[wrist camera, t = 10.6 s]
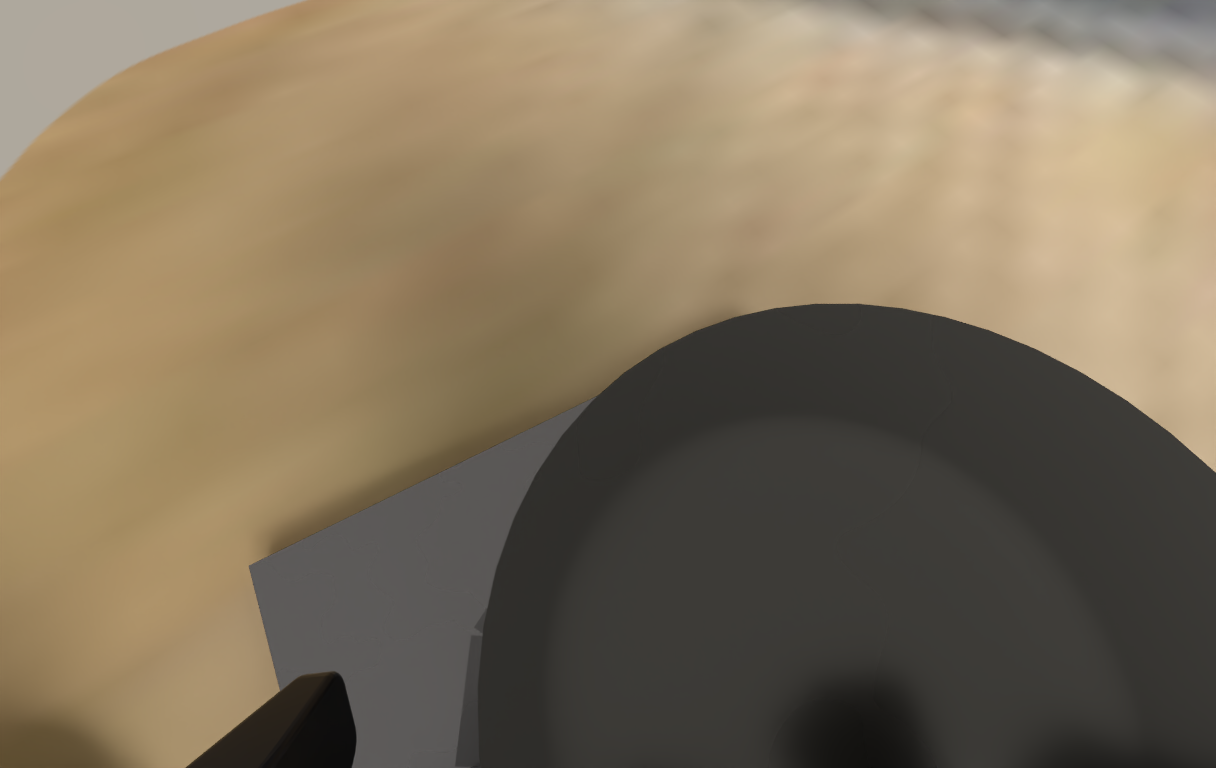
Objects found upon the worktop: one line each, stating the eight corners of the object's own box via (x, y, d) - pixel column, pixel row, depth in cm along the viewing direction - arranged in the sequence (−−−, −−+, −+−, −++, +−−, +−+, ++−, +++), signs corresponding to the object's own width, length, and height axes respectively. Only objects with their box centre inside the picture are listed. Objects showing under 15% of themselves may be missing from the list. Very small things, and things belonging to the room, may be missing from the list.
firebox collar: (507, 1495, 9) (436, 2019, 6) (264, 572, 16) (158, 529, 12) (1188, 873, 13) (1422, 939, 9) (754, 330, 20) (787, 240, 16)
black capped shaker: (716, 878, 12) (1458, 1971, 2) (543, 738, 14) (280, 801, 3) (807, 679, 14) (1447, 535, 3) (647, 572, 15) (734, 212, 5)
